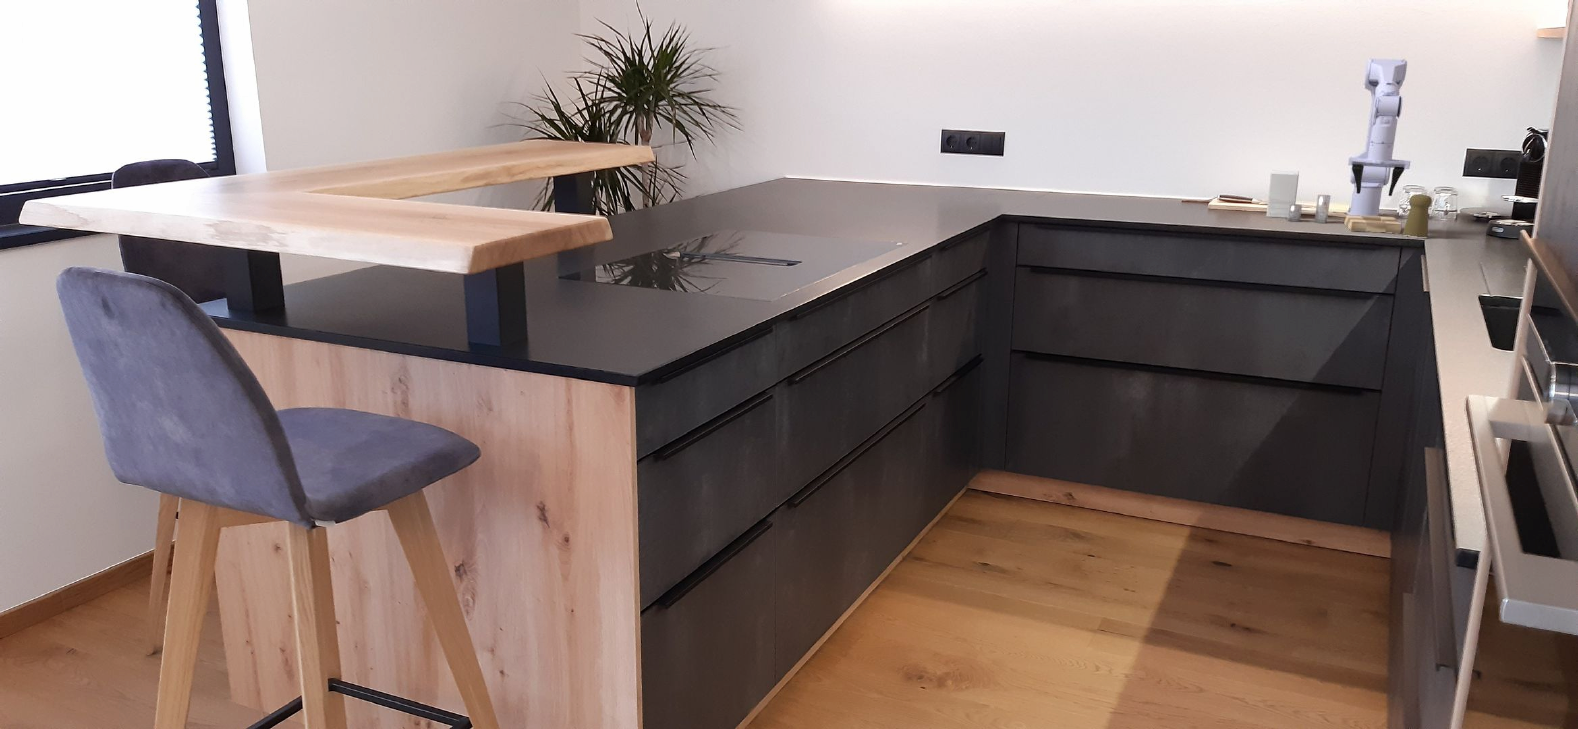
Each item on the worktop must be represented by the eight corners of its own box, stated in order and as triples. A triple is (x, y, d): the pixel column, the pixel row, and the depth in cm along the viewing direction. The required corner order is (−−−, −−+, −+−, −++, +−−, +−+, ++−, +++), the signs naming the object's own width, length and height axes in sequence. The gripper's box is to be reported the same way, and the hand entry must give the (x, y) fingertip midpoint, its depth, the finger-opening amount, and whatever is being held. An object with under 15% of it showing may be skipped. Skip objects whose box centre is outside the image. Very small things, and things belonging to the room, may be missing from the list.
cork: (1422, 234, 310) (1428, 193, 307) (1431, 239, 305) (1438, 196, 302) (1398, 234, 311) (1404, 192, 308) (1407, 238, 305) (1414, 196, 302)
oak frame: (1344, 223, 326) (1345, 214, 325) (1391, 226, 322) (1393, 216, 322) (1350, 231, 315) (1352, 221, 314) (1400, 233, 311) (1401, 224, 311)
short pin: (1287, 219, 332) (1289, 203, 331) (1299, 220, 331) (1301, 204, 330) (1288, 221, 329) (1290, 205, 328) (1300, 222, 328) (1302, 206, 327)
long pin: (1313, 221, 330) (1317, 194, 328) (1326, 221, 329) (1329, 194, 327) (1315, 222, 327) (1318, 196, 325) (1327, 223, 326) (1331, 196, 324)
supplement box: (1294, 214, 340) (1300, 171, 336) (1293, 218, 334) (1298, 174, 330) (1267, 212, 343) (1272, 169, 339) (1265, 216, 337) (1270, 172, 333)
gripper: (1349, 142, 308) (1342, 194, 312) (1411, 145, 301) (1403, 198, 305) (1353, 139, 314) (1345, 190, 318) (1413, 143, 306) (1405, 194, 310)
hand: (1374, 194), depth 312 cm, fingers open, 7 cm apart
